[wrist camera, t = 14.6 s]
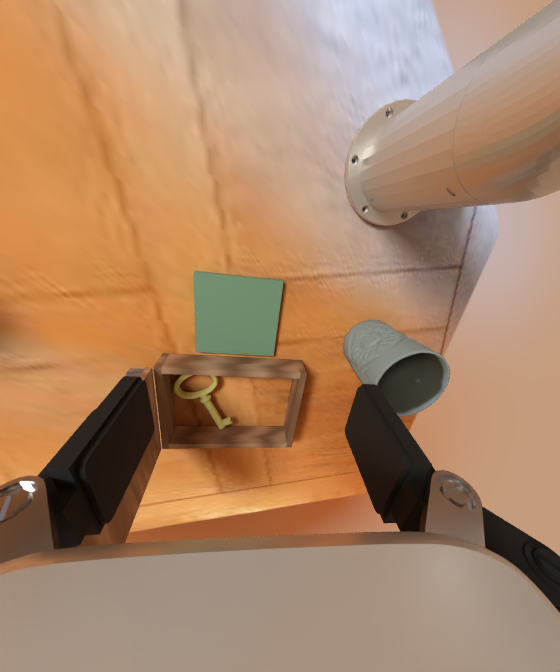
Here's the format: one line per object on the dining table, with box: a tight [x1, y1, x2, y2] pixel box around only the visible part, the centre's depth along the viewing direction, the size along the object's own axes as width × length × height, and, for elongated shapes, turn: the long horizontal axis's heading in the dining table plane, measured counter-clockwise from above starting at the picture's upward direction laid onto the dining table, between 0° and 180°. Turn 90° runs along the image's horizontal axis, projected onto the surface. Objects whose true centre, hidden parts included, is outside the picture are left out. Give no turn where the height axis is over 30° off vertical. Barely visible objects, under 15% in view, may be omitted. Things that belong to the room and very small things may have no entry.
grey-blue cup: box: [343, 320, 450, 417], centre depth 35 cm, size 10×10×12 cm
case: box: [78, 353, 307, 547], centre depth 30 cm, size 25×16×25 cm, turn 83°
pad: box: [194, 271, 284, 356], centre depth 35 cm, size 12×12×1 cm
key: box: [174, 375, 233, 429], centre depth 39 cm, size 7×12×2 cm, turn 39°
